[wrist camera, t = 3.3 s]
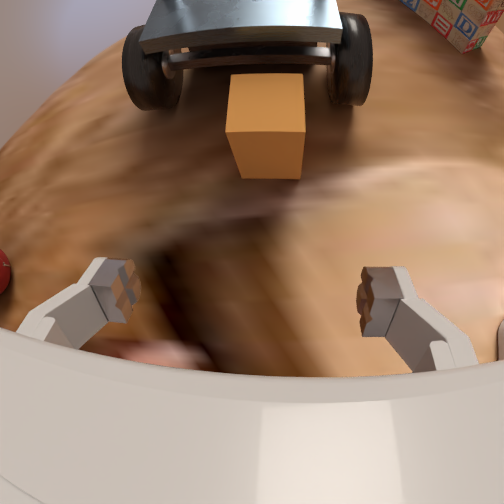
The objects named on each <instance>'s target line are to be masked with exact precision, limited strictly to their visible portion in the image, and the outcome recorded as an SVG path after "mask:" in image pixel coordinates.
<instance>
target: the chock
mask: <svg viewBox="0 0 504 504" xmlns="http://www.w3.org/2000/svg"><path fill="white" fill-rule="evenodd" d="M225 133H226V135H227V138H228V141H229V144H230V147H231V149H232V152H233V155H234V158H235V160H236V163H237V166H238V169H239V172H240V175H241V177H242V179H244V178H253V179H300V177H301V169H302V160H303V152H304V143H305V133H306V128H305V105H304V85H303V74H289V73H265V74H236V75H231V81H230V91H229V100H228V110H227V120H226V130H225Z"/></svg>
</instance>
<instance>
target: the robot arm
mask: <svg viewBox="0 0 504 504" xmlns="http://www.w3.org/2000/svg"><path fill="white" fill-rule="evenodd" d="M134 270H135V265H134V263H133V261H132V260H130V259H121V258H104V257H97V258H95V259H94V260H93V262H92V263H91V264H90V266H89V267H88V269H87V270H86V271H85V273H84V274H83V276H82V277H81V278H80V280H79V281H78V283H77V284H72V285H71V286H69V287H68V288H66V289H64V290H63V291H61V292H59V293H58V294H56V295H55V296H53V297H52V298H50V299H48V300H47V301H45V302H44V303H42V304H41V305H39V306H37V307H36V308H34V309H33V310H31V311H30V312H29V313H28V315H27V316H26V318H25V319H24V321H23V322H22V324H21V325H20V327H19V328H18V330H17V331H16V332H12V331H9V330H6V329H3V328H0V504H504V320H503V321H502V323H501V324H500V327H499V330H498V347H499V361H494V362H489V363H484V364H479V363H478V360H477V357H476V355H475V352H474V349H473V347H472V344H471V341H470V339H469V337H468V336H467V335H466V334H465V333H463V332H462V331H461V330H460V329H459V328H458V327H456V326H455V325H454V324H453V323H452V322H450V321H449V320H448V319H447V318H446V317H444V316H443V315H442V314H441V313H440V312H438V311H437V310H436V309H435V308H434V307H432V306H431V305H430V304H429V303H427V302H426V301H425V300H424V299H419V298H418V295H417V293H416V290H415V288H414V285H413V283H412V280H411V278H410V276H409V273H408V271H407V269H406V267H404V266H392V267H363V269H362V273H361V279H362V283H361V284H360V285H359V286H358V290H357V298H356V303H357V311H358V313H359V314H360V315H361V318H360V327H361V333H362V337H385V338H386V340H387V341H388V342H389V343H390V344H391V346H392V347H393V348H394V349H395V350H396V352H397V353H398V354H399V355H400V357H401V358H402V359H403V360H404V361H405V363H406V364H407V365H408V366H409V368H410V369H411V370H412V371H413V372H412V373H408V374H396V375H381V376H361V377H276V376H256V375H241V374H228V373H217V372H207V371H198V370H189V369H181V368H174V367H167V366H160V365H153V364H147V363H141V362H135V361H130V360H124V359H119V358H114V357H109V356H104V355H99V354H95V353H90V352H86V351H81V350H78V349H79V348H80V347H81V346H82V345H83V344H84V343H85V342H86V341H88V340H89V339H90V338H91V337H92V336H93V335H94V334H95V333H97V332H98V331H99V330H100V329H101V328H102V327H103V326H104V325H106V324H107V323H108V321H110V322H119V323H127V322H128V320H129V318H130V316H131V314H132V312H133V308H132V305H133V304H135V303H136V302H137V301H138V299H139V297H140V292H141V284H140V280H139V277H138V276H137V275H136V274H135V273H134Z"/></svg>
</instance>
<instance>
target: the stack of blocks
mask: <svg viewBox="0 0 504 504" xmlns="http://www.w3.org/2000/svg"><path fill="white" fill-rule="evenodd" d="M399 1H401V2H402V3H403V4H405V5H406V6H407V7H409V8H410V9H411V10H413V11H414V12H416V13H417V14H418V15H419V16H421V17H422V18H423V19H424V20H425V21H427V22H428V23H429V24H430V25H431V26H432V27H433V28H435V29H436V30H437V31H438V32H439V33H440V34H441V35H443V36H444V37H445V38H446V39H447V40H448V41H449V42H450V43H451V44H452V45H453V46H454V47H455V48H456V49H457V50H458V51H459V52H461V53H462V54H463V53H466V52H469V51H471V50H473V49H476V48H479V47H481V46H482V44H483V43H484V41H485V40H486V38H487V36H488V35H489V33H490V32H491V30H492V29H493V27H494V26H495V24H496V22H497V21H498V19H499V18H500V16H501V15H502V13H503V12H504V0H399Z"/></svg>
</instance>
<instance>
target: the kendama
mask: <svg viewBox="0 0 504 504" xmlns="http://www.w3.org/2000/svg"><path fill="white" fill-rule="evenodd" d="M10 268H11V266H10V263H9V261H8V258H7V256H6V255H5V253H4V252H3V251H2V250H1V249H0V294H1V293H2V292H3V291H4V290H5V289H6V287H7V285H8V283H9V280H10V274H11V269H10Z"/></svg>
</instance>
